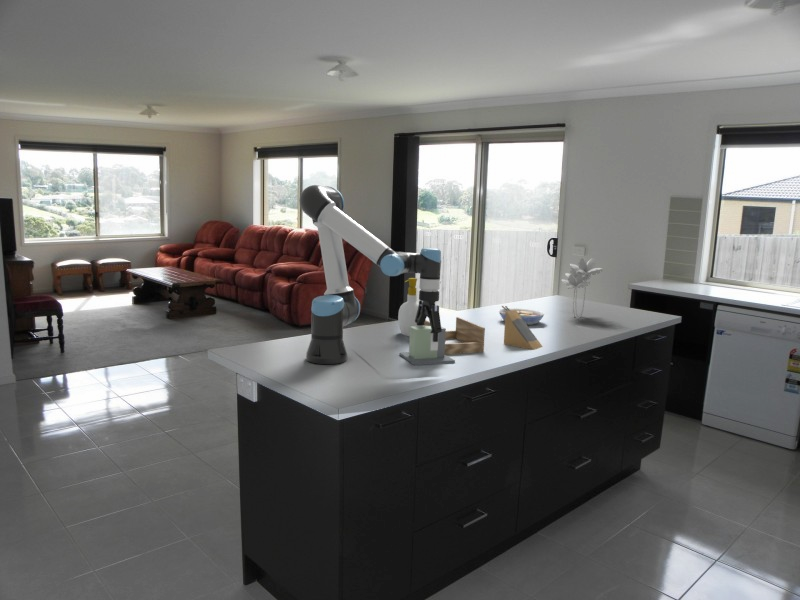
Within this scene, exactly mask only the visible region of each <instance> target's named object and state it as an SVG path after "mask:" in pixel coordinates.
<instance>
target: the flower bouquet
mask: <svg viewBox="0 0 800 600" xmlns="http://www.w3.org/2000/svg"><path fill="white" fill-rule="evenodd" d="M595 262H596V260H595V258H594V257H592V258H590V259H589V260H588V261H587V262H586V260H585V258H584V257H583V256H582V257H581V258H580V259H579V261H578V262H577V263H578V265H577V264H575V263H574V264H573V263H569V266H570V267H571V268H570V272H566V273H565V274H564V275H565V276H566V277H567V279H563V278H562V279H560V280H561V282H562V283H563V284H564V285H566V286H567V287H566V289H568V290H569V289H573V298H572V299H573V301H572V314H573V318H576V316H577V315H578V311H577V295H578V289H581V288H584V291H583V293H584V294H583V301H582V308H581V313H580V315H579V317H580V318H582V316H583V313H584V307H585V301H586V287H588V286H589V285H590V283H591V281H587V280H590V278H592V276H595V275H599V274H600V273H601V272H603V271H604V268H602V267H596V268H595V266H596V263H595Z"/></svg>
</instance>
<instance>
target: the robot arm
mask: <svg viewBox="0 0 800 600" xmlns="http://www.w3.org/2000/svg"><path fill="white" fill-rule="evenodd" d="M299 206H300V208H301V210H302V211H303V213H304V214H305V215H306V216H308V217H310V218H311V221H312V224H313V225H314V226H315V227H316V228H317V233H318V239H319V245H320V251H321V258H322V264H323V271H324V272H323V273H324V276H325V277H324V278H325V283H326V284H325V285H326V290H325V292H324V293H323V295H319V296H316V297H315V298H313V299H312V301H311V307H310V308H311V309H310V311H311V321H310V322H311V325H310V327H311V337H310V338H311V339H310V342H309V345H308V347H307V351H306V357H305V360H306V361H307V362H309V363H312V364H319V365H334V364H335V365H336V364H337V365H338V364H342V363H345V362H347V361H348V353H347V349H346V346H345V343H344V342H345V341H344V327H345V326H348V325H350V324H352V323H353V322H354V321H356V320H357V318H358V317H359V315H360V312H361V304H360V301H359V300H358V298H356V296H355V291H354V288H353V287H351V286H350V284H349V278H348V277H349V276H348V270H347V265H346V263H347V262H346V258H345V257H346V256H345V252H344V244H343V240H344V241H345V242H346V243H348V244H349V245H351V246H352V247H354V249H356V250H357V251H358V252H359V253H361V254H363V256H365V257H366V258H368V259H369V260H370V261H372V262H373V263H374V264H376V265H377V266H378V267H379V268H380V270H381V272H382V273H383V274H384V275H386V276H388V277H398V276H400V275H402V274H405V273H407V274H419V283H418V284H419V285H418V289H420V290H419V291H418V303H419V306H418V310H417V314H416V318H415V323H417V325H418V326H424V325H425V323H424V322H425V320H427V318H428V320H429V322H430V325H431V329H432V331H431V332H430V333H431V341H430V350H431V351H432V350H438V334H439V332H442V329H441V327H442V324H441V323H442V322H441V315H440V306H439V305H436V303H437V302H438V301H440V287H441V286H440V285H441V282H442V281H441V268H442V267H441V266H442V251H441V249H440V248H434V247H431V248H430V247H427V248H426V247H423V248H420V252H406V251H405V252H404V251H395V250H394V249H392V248H391V247H390V246H388V245H387V244H386V243H384V242H383V241H382V240H381V239H379V238H378V237H376V236H375V235H374V234H372V233H371V231H368V230H367V229H366V228H364V227H363V226H362V225H361V224H359V223H358V222H357V221H355V220H353V218H352V217H350V216H349V215H348V214H346V213H344V212H343V211H344V209H345V199H344V196H343V195H342V193H341V192H340V191H339V190H338V189H337V188H334V187H333V186H327V185H316V184H313V185H308V186H307V187H305V188H304V189H303V190H302V192H301V193H300V195H299Z"/></svg>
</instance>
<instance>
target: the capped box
mask: <svg viewBox="0 0 800 600" xmlns="http://www.w3.org/2000/svg"><path fill="white" fill-rule="evenodd" d="M441 329H442V332H439V334H438V350H432V351H431V350H430V341H431V333H430V332H431V331H432V329H431V326H414V327H410V336H409V342H408V343H409V348H408V352H409V356H411V357H412V358H414V359H424V358H443V357H444V356H445V355H446V354H445V344H446V339H445V334H446V331H447V330H446V327H443V326H441Z"/></svg>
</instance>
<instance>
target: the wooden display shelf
mask: <svg viewBox="0 0 800 600" xmlns="http://www.w3.org/2000/svg"><path fill="white" fill-rule="evenodd" d="M424 323H425V325H424V326H431V325H430V321H428V320H427V319H426V320H425V322H424ZM485 332H486V327H484V326H482V325H478V324H476V323H474V322H471V321H468V320H466V319H464V318H462V317H458V316H456V318H455V330H446V334H445V340H448V339H449V338H454V339H456V338H457V339H456V340H458V339H459V340H458V341H461V342H458V343H457V342H454V343H445V355H454V354H455V355H457V354H470V353H481V352H482V353H483V352H485ZM449 340H450V339H449Z"/></svg>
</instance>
